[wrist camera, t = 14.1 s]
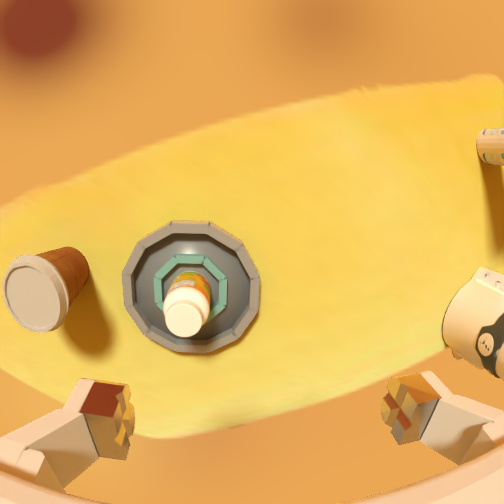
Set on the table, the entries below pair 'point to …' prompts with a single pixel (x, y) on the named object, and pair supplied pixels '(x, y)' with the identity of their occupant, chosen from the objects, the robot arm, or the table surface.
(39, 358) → the table surface
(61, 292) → the disposable coffee cup
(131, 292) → the round tray
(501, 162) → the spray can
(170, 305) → the supplement bottle
